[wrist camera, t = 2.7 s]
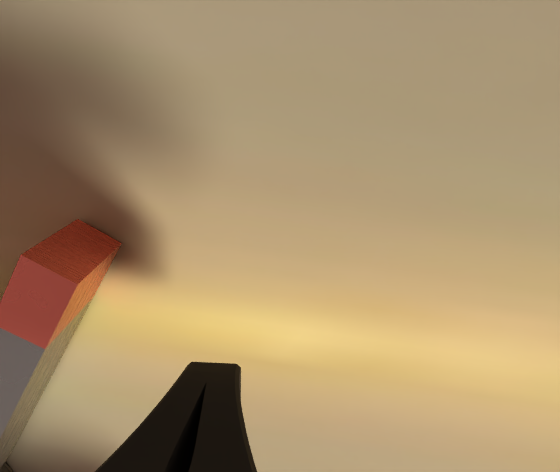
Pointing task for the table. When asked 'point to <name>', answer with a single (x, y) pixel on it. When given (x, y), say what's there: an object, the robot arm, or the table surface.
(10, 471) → the tongs body
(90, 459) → the table surface
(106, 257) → the tongs jaw
